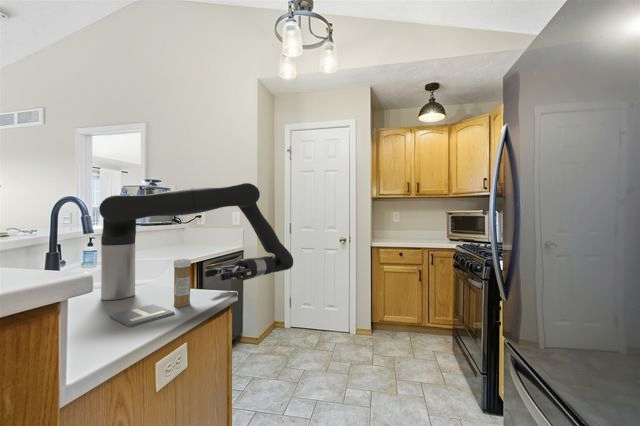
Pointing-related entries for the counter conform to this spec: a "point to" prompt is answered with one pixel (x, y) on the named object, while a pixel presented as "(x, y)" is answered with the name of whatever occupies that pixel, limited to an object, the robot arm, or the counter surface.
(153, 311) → the letter mat
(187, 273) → the spice jar
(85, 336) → the counter surface
